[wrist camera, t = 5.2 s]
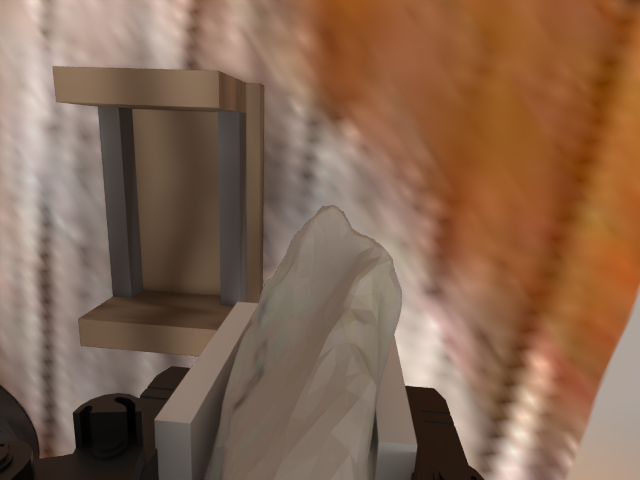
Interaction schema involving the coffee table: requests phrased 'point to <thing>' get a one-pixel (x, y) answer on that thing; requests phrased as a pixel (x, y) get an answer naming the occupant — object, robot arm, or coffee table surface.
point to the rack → (174, 202)
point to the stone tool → (311, 361)
